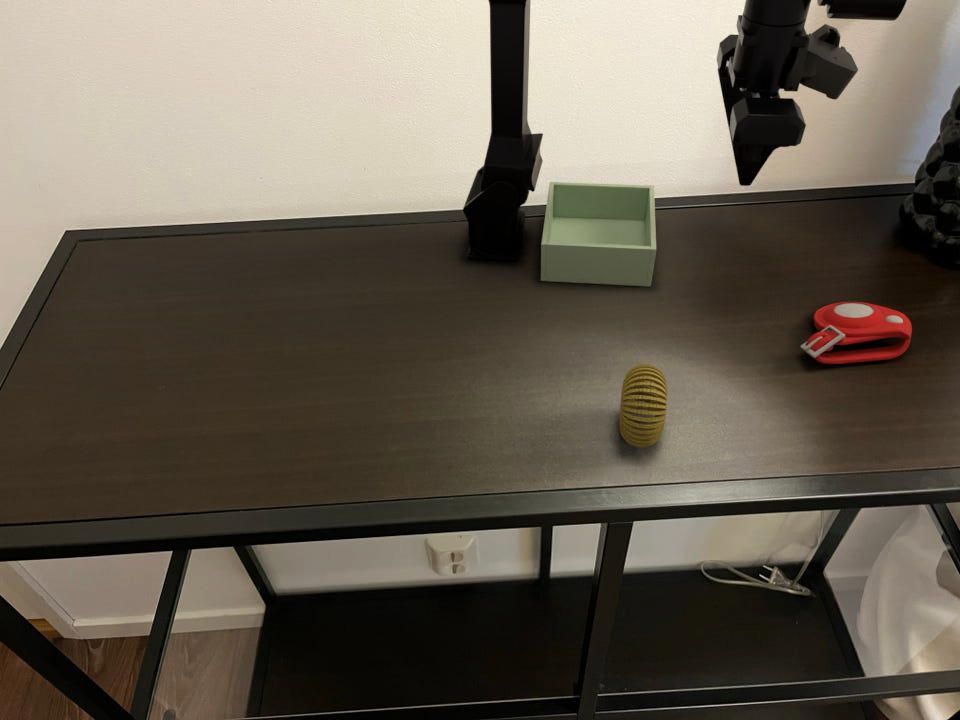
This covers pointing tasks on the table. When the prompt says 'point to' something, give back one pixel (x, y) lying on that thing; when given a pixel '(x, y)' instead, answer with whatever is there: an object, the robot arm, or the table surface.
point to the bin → (599, 234)
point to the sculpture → (643, 405)
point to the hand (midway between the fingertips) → (740, 161)
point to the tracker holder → (857, 332)
